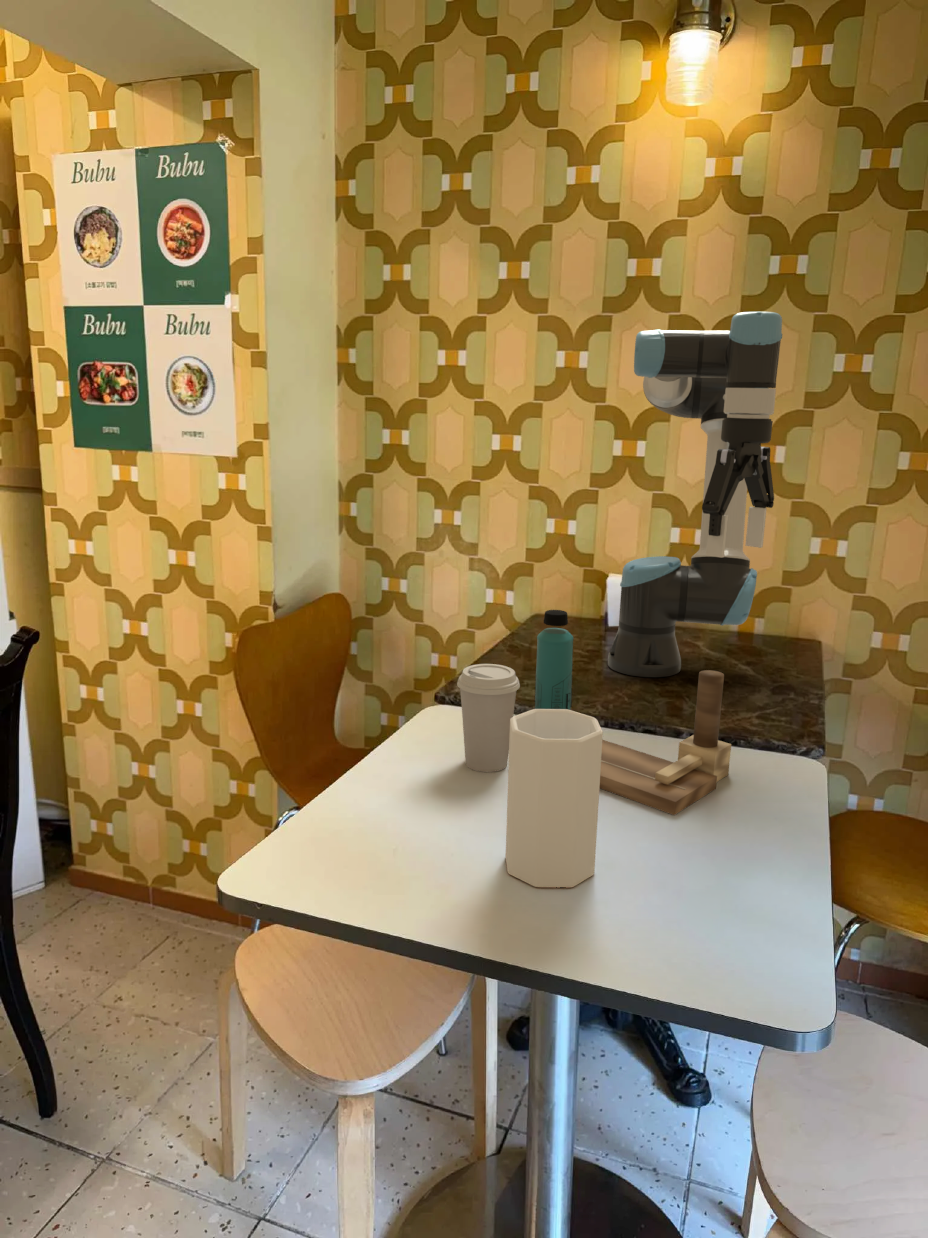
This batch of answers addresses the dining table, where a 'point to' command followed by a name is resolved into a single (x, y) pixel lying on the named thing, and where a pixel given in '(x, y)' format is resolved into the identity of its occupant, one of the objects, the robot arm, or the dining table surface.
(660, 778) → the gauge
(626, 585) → the robot arm
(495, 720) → the coffee cup
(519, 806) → the cup
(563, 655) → the beverage bottle
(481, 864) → the dining table surface
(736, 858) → the dining table surface
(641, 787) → the board
